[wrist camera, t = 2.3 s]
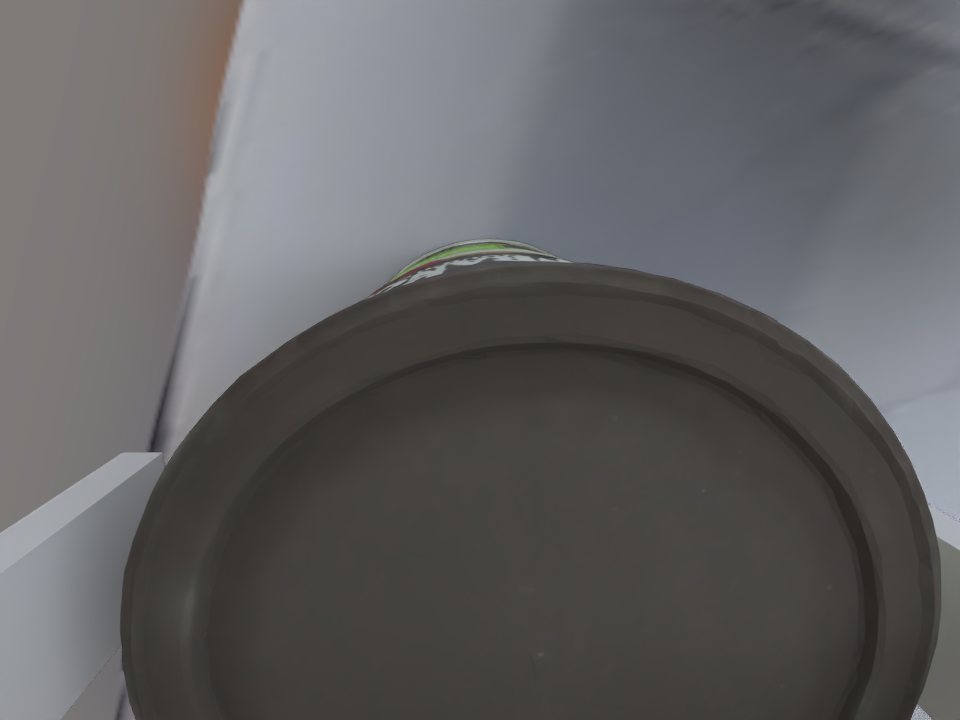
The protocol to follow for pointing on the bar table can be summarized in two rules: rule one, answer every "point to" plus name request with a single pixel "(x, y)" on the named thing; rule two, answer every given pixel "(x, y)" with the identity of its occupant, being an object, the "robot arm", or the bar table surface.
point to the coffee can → (535, 516)
